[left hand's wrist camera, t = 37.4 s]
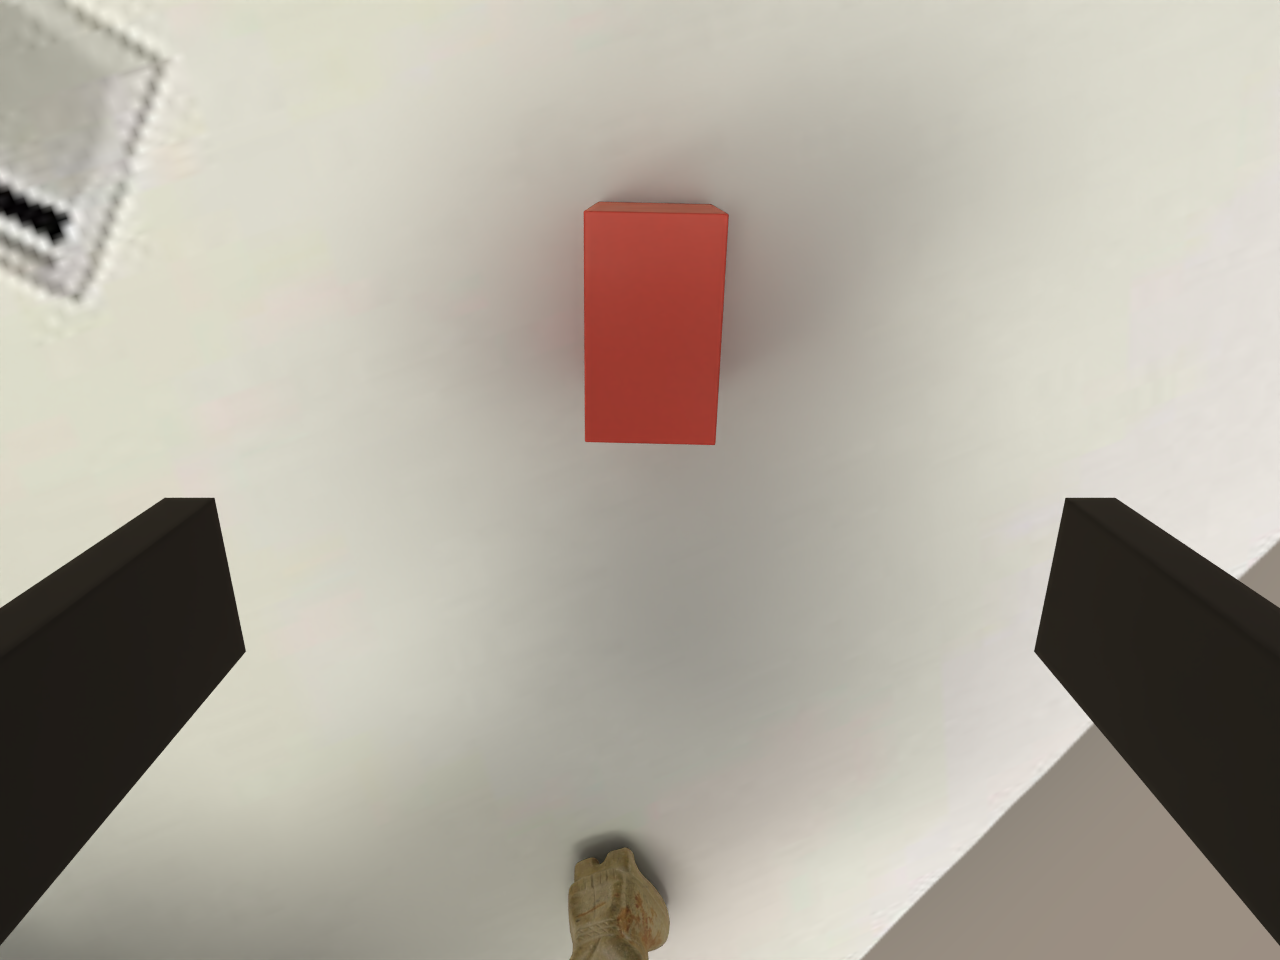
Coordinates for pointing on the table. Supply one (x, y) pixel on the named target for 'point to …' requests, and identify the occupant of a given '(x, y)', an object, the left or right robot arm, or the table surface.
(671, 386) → the brick
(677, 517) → the table surface
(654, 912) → the sculpture
